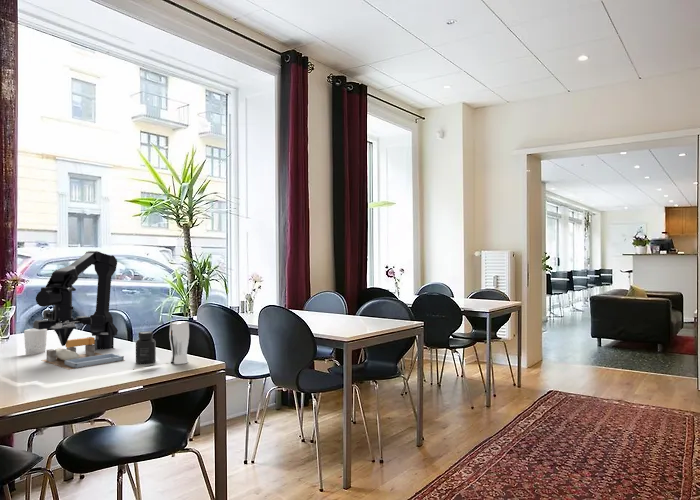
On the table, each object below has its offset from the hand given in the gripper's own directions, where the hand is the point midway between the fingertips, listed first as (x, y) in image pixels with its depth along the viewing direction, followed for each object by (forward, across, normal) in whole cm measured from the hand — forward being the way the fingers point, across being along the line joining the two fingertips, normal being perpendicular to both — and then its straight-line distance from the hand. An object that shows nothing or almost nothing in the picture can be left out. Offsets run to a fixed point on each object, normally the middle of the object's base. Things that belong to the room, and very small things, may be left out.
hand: (63, 345), depth 197 cm
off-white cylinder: (+5, +1, +3) cm, 6 cm away
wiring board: (+6, -4, +8) cm, 11 cm away
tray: (+5, -5, +15) cm, 16 cm away
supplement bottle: (+6, -17, +28) cm, 34 cm away
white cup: (+6, +1, -23) cm, 24 cm away
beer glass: (+6, -27, +34) cm, 44 cm away
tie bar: (+1, -6, 0) cm, 6 cm away
